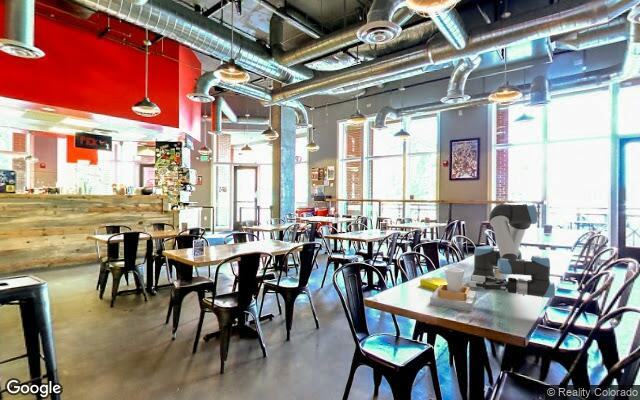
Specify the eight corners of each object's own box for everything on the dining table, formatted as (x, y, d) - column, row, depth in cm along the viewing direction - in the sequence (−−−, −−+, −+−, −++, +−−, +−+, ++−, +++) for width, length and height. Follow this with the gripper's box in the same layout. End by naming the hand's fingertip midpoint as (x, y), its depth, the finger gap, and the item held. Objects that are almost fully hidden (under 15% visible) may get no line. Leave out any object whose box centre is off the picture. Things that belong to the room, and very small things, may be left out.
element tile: (437, 292, 203) (437, 284, 203) (418, 286, 216) (418, 278, 216) (454, 289, 211) (454, 281, 211) (435, 283, 224) (435, 276, 224)
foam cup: (449, 290, 192) (450, 267, 191) (466, 293, 185) (466, 269, 185) (441, 293, 185) (442, 269, 185) (459, 297, 178) (459, 272, 178)
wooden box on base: (438, 293, 200) (438, 281, 200) (476, 298, 191) (476, 285, 190) (430, 304, 179) (430, 291, 179) (471, 311, 170) (472, 297, 170)
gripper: (517, 300, 159) (467, 293, 170) (516, 287, 181) (472, 282, 192) (517, 284, 159) (467, 278, 170) (516, 273, 181) (473, 268, 191)
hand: (470, 280), depth 181 cm, fingers open, 13 cm apart
